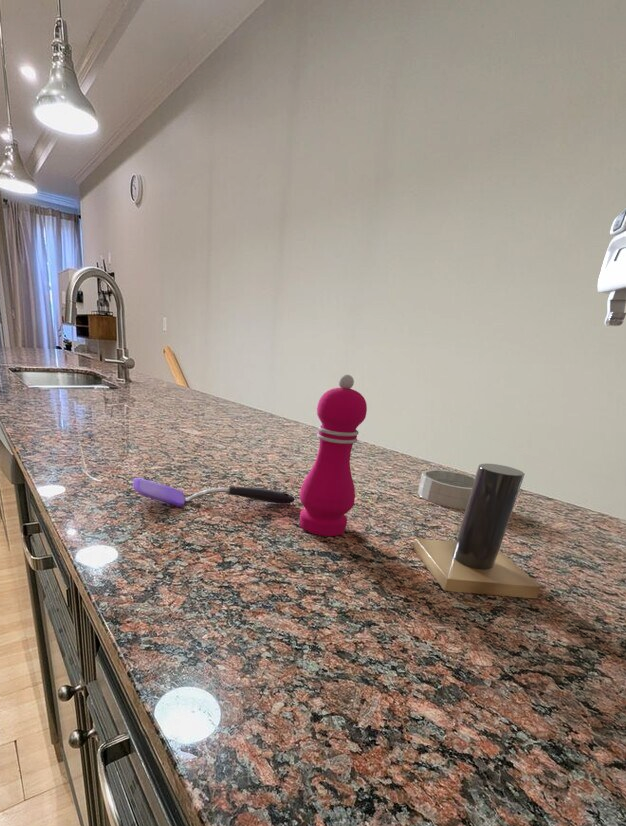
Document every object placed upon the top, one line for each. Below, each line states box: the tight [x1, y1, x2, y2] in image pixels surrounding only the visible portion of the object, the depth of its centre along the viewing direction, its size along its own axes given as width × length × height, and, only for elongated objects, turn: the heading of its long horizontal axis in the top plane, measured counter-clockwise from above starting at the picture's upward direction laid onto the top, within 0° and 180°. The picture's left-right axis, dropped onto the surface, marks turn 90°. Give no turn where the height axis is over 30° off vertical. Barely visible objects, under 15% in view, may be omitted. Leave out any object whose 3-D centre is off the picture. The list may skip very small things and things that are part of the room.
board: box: [412, 538, 542, 600], centre depth 52 cm, size 10×10×2 cm
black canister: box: [452, 463, 526, 569], centre depth 50 cm, size 4×4×11 cm
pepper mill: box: [298, 374, 368, 537], centre depth 57 cm, size 7×7×20 cm
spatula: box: [132, 477, 295, 508], centre depth 66 cm, size 24×7×2 cm, turn 98°
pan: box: [417, 469, 475, 510], centre depth 75 cm, size 10×10×4 cm
